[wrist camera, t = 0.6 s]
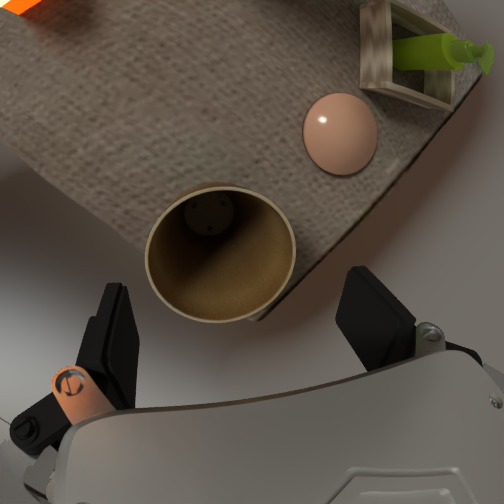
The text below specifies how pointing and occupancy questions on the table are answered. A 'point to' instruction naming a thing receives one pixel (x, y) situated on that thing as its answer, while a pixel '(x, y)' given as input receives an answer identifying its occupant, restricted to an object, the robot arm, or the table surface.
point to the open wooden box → (380, 54)
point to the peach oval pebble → (340, 133)
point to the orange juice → (17, 5)
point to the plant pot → (220, 253)
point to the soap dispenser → (439, 53)
